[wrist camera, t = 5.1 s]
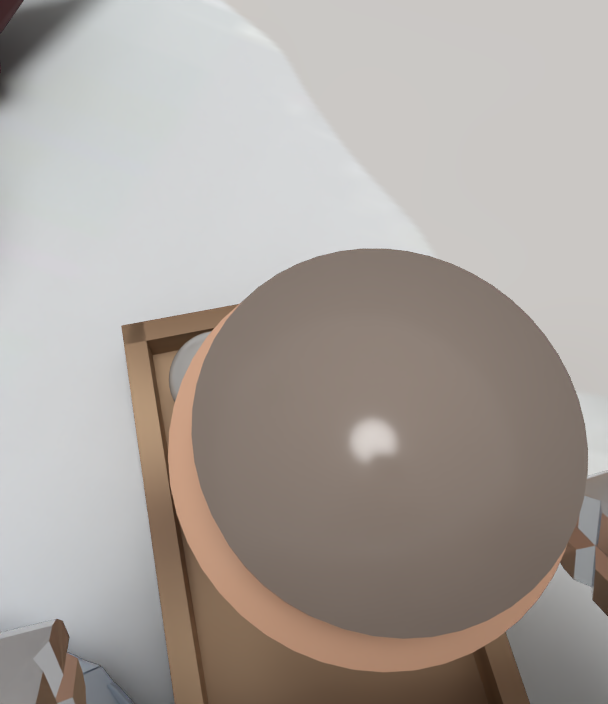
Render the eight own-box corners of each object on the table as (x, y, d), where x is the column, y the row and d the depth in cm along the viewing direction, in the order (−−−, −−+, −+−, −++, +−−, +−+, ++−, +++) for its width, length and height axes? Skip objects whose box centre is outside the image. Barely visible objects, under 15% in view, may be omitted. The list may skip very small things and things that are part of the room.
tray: (509, 720, 17) (540, 735, 15) (203, 820, 15) (195, 851, 13) (372, 304, 22) (383, 277, 20) (133, 350, 20) (121, 325, 19)
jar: (418, 598, 17) (708, 602, 6) (240, 649, 16) (201, 759, 5) (367, 427, 19) (516, 195, 8) (205, 464, 18) (125, 259, 7)
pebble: (274, 427, 19) (277, 398, 16) (183, 447, 18) (170, 420, 16) (255, 345, 20) (255, 305, 17) (169, 362, 19) (154, 324, 17)
